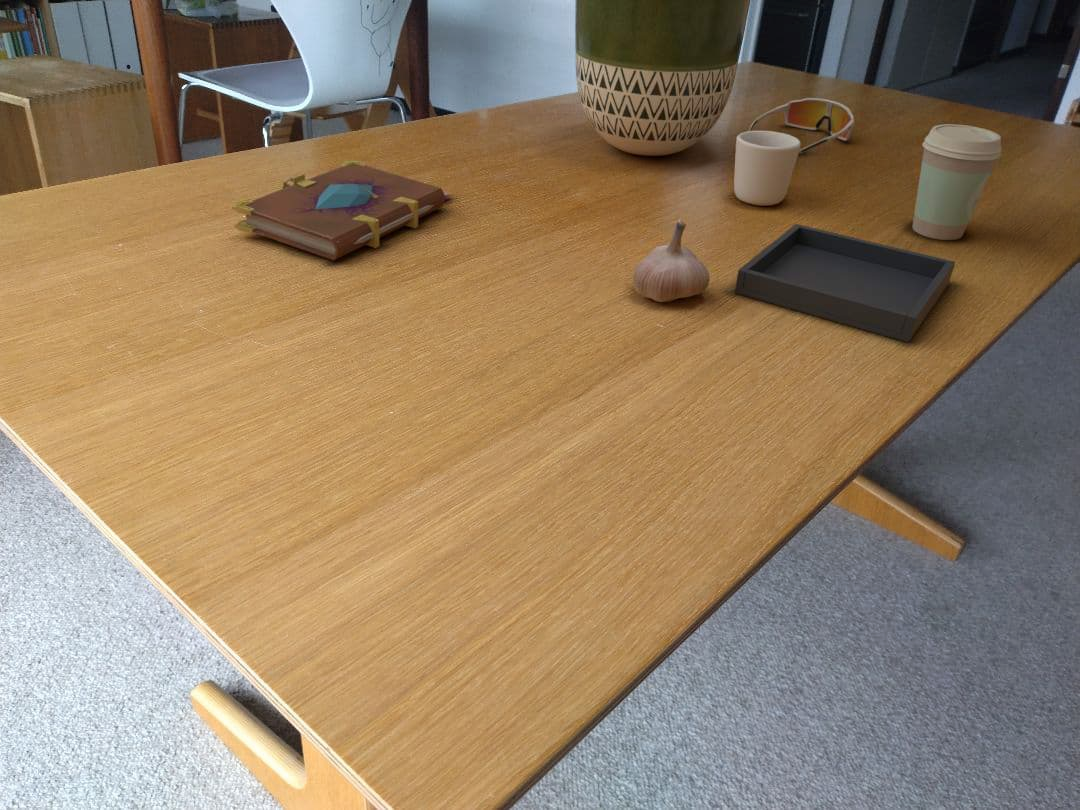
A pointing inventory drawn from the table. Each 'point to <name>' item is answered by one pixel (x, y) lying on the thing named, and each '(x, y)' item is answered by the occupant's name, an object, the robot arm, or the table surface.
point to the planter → (656, 68)
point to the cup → (764, 166)
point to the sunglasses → (816, 118)
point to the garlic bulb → (670, 271)
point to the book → (339, 209)
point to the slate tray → (847, 280)
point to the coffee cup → (953, 178)
